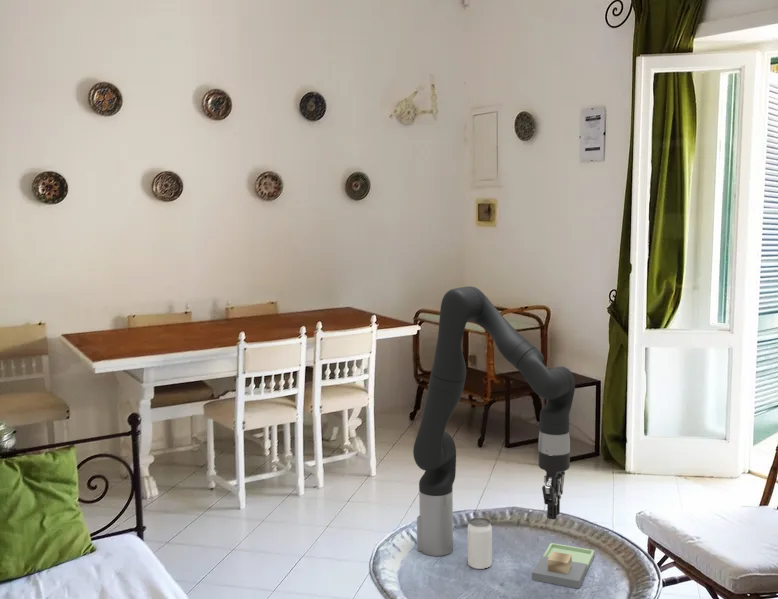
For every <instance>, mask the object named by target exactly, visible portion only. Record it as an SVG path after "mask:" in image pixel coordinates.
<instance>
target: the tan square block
mask: <svg viewBox="0 0 778 599" xmlns="http://www.w3.org/2000/svg"><path fill="white" fill-rule="evenodd" d="M571 566H572V555H570V554H564V553H558V552H552V554H551V555H550V557H549V559H548V571H553V572H558V573H563V574H568V572H569V570H570V568H571Z"/></svg>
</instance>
